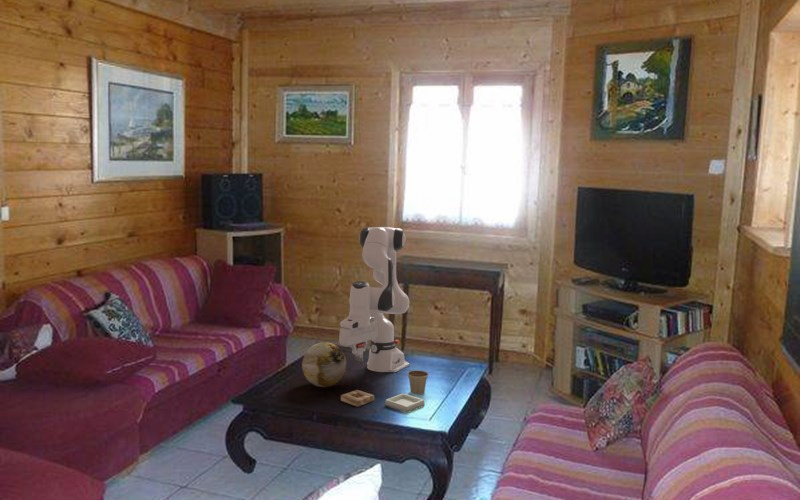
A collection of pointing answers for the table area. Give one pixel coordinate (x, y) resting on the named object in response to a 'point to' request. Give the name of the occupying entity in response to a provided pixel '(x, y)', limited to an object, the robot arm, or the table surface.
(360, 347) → the pin
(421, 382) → the flower pot
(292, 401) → the table surface
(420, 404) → the tray
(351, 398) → the block
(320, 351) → the decorative sphere
